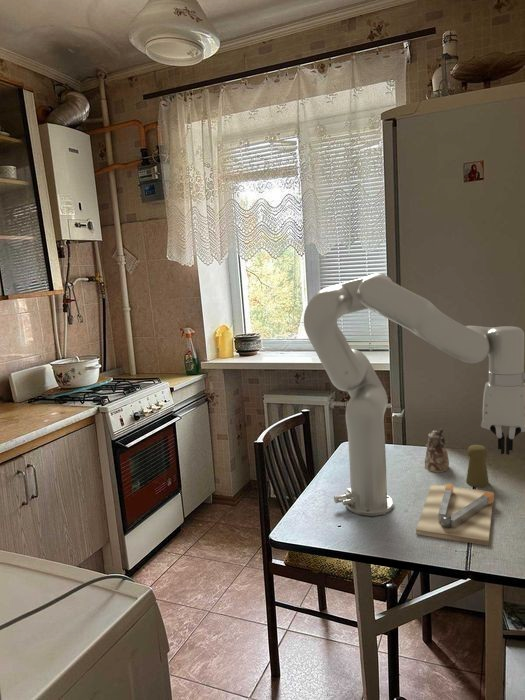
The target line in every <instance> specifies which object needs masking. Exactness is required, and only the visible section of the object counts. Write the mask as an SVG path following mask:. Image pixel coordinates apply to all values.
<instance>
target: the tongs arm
mask: <svg viewBox="0 0 525 700" xmlns="http://www.w3.org/2000/svg"><path fill="white" fill-rule="evenodd" d="M492 502H493V503H494V502H495V493H494V492H493V493H491V492H486V493H485V494H483V495H482V496H481V497H479V498H478V499H476V500H475V501H473V502H472V503H470V504H469V505H467V506H466V507H464V508H463V509H461V510H460V511H458V512H457V513H455V514H454V515H452V516H447V515H443V516H441V526H442V527H444V528H450V527H452V528H455V527H457V526H458V525H460V524H461V523H462V522H464V521H465V520H467V519H468V518H470V517H471V516H473V515H474V514H476V513H477V512H478V511H480V510H481V509H483V508H484V507H486V506H487V505H489V504H491V503H492Z"/></svg>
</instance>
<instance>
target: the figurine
mask: <svg viewBox="0 0 525 700" xmlns="http://www.w3.org/2000/svg"><path fill="white" fill-rule="evenodd" d="M443 432H444V430H443V429H442V428H439V430H435V429H434V430H432V431H430V432H429V433H428V435H427V436H428V439H427V444H425V448H426V452H425V458H424V468H425V469H424V470H427V471H429V472H434V473H442V472H446V471H447V470H448V469H449V467H450V459H449V455H448V451H447V448H446V446H445V444H446V439H445V437H444V436H443Z"/></svg>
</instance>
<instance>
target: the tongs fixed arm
mask: <svg viewBox="0 0 525 700" xmlns="http://www.w3.org/2000/svg"><path fill="white" fill-rule="evenodd" d="M445 486H446V487H445V492H444V496H443V499H442V502H441V506H440V509H439V513H438V521H440V522H441V516H443V515H447V514H448V510H449V506H450V502H451V498H452V496H453V492H454V489H453V487H454V483H453V484H452V483H445Z"/></svg>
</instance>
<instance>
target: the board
mask: <svg viewBox="0 0 525 700" xmlns="http://www.w3.org/2000/svg"><path fill="white" fill-rule="evenodd" d="M445 487H446V485H440V484H433V483H432V484H431V485H430V488H429V491H428V494H427V497H426V499H425V503H424V505H423V508H422V511H421V514H420V517H419V520H418V522H417V526H416V528H415V534H416V535H420V536H426V537H430V538H431V537H432V538H439V539H444V540H450V541H451V540H452V541H457V542H462V543H463V542H464V543H471V544H475V545H476V544H477V545H483V546H489V544H490V535H491V525H492V524H491V523H492V515H493V514H492V513H493V503H494V502H492V503H491V504H489V505H487V506H486V507H484V508H483V509H481V510H480V511H478V512H477V513H476V514H474V515H473V516H471V517H470V518H468V519H467V520H465V521H464V522H462V523H461V524H460V525H458V526H457V527H455V528H452V527H450V528H444V527H442V526H441V522H440V521H438V513H439V509H440V506H441V502H442V499H443V496H444V492H445ZM453 489H454V492H453V496H452V498H451V502H450V506H449V510H448V514H447V516H452V515H454V514H455V513H457V512H458V511H460V510H461V509H463V508H464V507H466V506H467V505H469V504H470V503H472V502H473V501H475V500H476V499H478V498H479V497H481V496H482V495H483V494H485V493H486V492H491V493H494V491H493V490H492V491H489V490H484V489H474V488H473V489H472V488H466V487H459V486H457V487H456V486H453ZM489 547H490V546H489Z"/></svg>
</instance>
